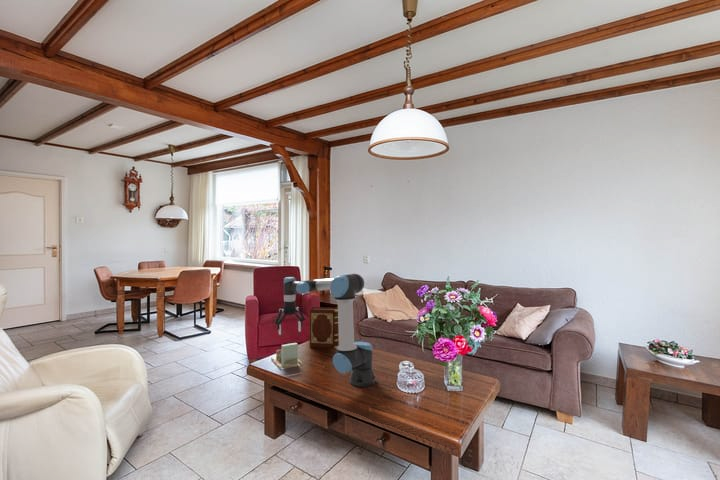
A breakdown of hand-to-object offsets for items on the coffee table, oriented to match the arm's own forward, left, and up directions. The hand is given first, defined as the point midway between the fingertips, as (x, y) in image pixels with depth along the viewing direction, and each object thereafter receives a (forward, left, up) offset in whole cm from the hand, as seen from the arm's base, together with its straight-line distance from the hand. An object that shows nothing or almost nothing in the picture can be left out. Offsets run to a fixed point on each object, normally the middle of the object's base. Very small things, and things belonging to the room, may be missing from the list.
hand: (289, 332), depth 223 cm
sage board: (0, 0, -22) cm, 22 cm away
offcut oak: (+7, 0, -18) cm, 20 cm away
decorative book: (+27, -38, -23) cm, 52 cm away
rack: (+7, 0, -23) cm, 24 cm away
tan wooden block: (+7, 0, -22) cm, 23 cm away
